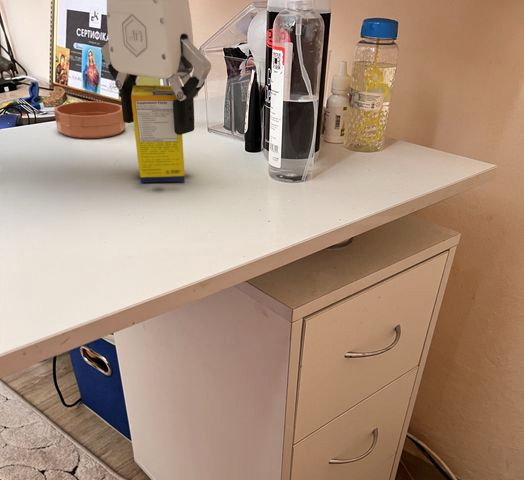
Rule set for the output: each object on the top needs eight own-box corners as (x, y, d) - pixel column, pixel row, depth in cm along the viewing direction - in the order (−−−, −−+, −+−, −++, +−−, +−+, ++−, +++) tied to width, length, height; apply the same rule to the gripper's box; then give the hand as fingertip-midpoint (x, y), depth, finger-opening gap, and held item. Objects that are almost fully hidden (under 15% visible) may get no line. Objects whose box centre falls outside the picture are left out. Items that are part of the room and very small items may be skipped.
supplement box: (183, 168, 76) (178, 84, 69) (185, 182, 71) (180, 93, 65) (140, 169, 75) (132, 83, 68) (139, 183, 70) (130, 93, 64)
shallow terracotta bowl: (46, 136, 87) (41, 113, 85) (75, 120, 95) (72, 99, 93) (110, 141, 86) (107, 118, 83) (134, 125, 94) (132, 104, 92)
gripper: (65, -43, 60) (89, 121, 70) (184, -37, 53) (192, 145, 63) (114, -41, 65) (130, 111, 76) (229, -36, 58) (229, 132, 68)
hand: (158, 126), depth 69 cm, fingers closed on supplement box, 8 cm apart
